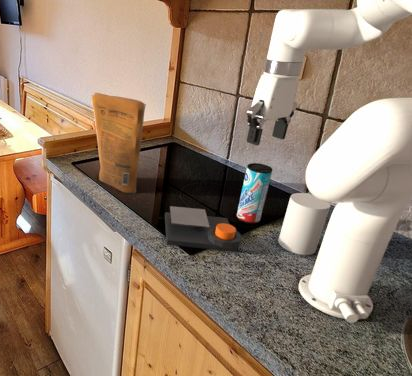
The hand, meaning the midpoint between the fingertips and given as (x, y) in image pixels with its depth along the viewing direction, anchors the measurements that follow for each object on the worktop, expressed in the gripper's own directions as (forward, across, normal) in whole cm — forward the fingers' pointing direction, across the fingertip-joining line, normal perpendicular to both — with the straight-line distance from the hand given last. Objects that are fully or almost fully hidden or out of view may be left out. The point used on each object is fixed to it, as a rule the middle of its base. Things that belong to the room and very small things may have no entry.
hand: (265, 140), depth 99 cm
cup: (+22, 0, +14) cm, 26 cm away
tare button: (+19, +16, +6) cm, 26 cm away
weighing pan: (+19, +18, -4) cm, 26 cm away
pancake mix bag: (+22, +19, -34) cm, 45 cm away
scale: (+22, +17, -1) cm, 28 cm away
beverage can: (+22, 0, 0) cm, 22 cm away
